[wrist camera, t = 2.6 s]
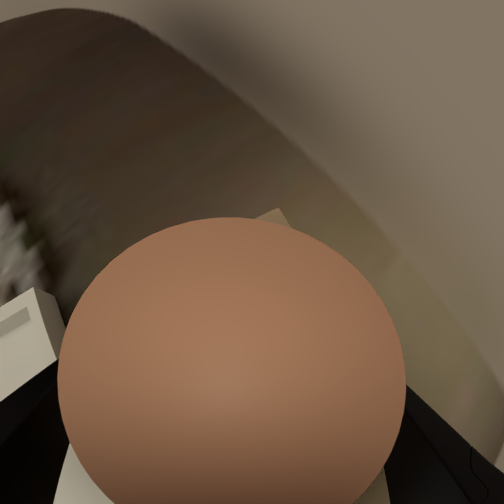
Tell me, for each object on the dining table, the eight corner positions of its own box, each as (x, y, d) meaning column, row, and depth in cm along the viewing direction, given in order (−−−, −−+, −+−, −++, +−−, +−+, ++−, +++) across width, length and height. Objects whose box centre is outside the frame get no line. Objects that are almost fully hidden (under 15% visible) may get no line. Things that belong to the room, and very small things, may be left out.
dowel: (294, 381, 16) (448, 434, 4) (212, 424, 15) (170, 579, 3) (249, 302, 17) (297, 167, 5) (168, 343, 16) (16, 308, 4)
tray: (213, 569, 12) (212, 590, 9) (61, 586, 9) (49, 599, 6) (54, 296, 16) (33, 287, 14) (-60, 365, 14) (-81, 363, 11)
